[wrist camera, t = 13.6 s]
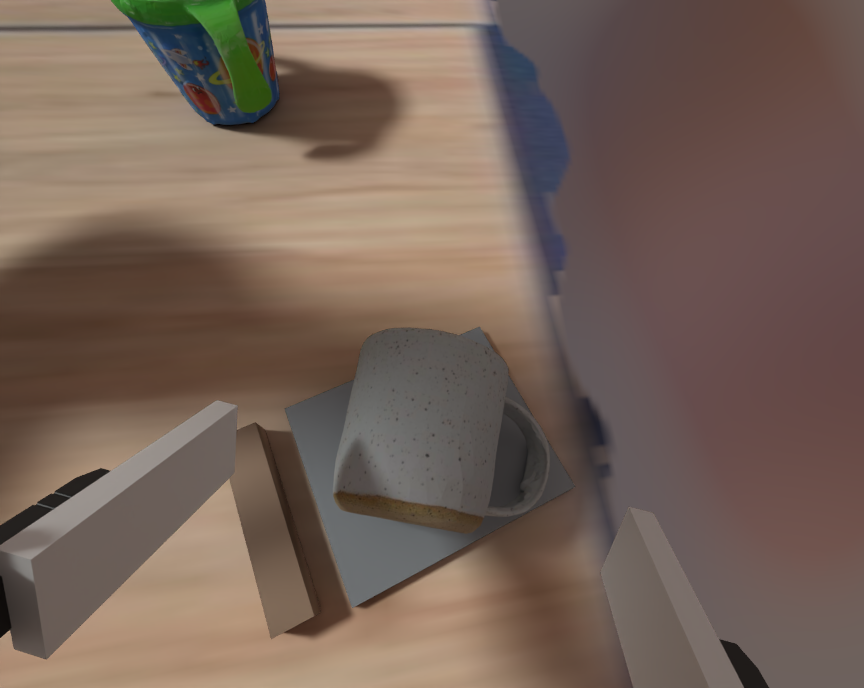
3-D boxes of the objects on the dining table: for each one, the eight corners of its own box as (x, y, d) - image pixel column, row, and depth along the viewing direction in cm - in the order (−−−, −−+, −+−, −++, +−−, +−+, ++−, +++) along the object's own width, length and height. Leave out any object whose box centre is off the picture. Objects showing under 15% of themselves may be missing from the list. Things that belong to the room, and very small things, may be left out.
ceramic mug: (337, 517, 22) (303, 503, 15) (370, 373, 25) (355, 308, 19) (539, 550, 22) (599, 551, 15) (543, 400, 25) (593, 344, 18)
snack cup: (158, 69, 39) (79, -77, 30) (268, 42, 42) (225, -101, 32) (200, 177, 33) (117, 36, 24) (325, 138, 36) (293, -4, 26)
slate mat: (287, 411, 25) (284, 408, 24) (478, 331, 28) (479, 326, 27) (353, 606, 21) (351, 608, 20) (571, 488, 23) (575, 486, 23)
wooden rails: (-95, 583, 21) (-134, 586, 19) (265, 429, 24) (255, 422, 23) (-109, 842, 17) (-159, 869, 15) (321, 611, 21) (314, 616, 19)
